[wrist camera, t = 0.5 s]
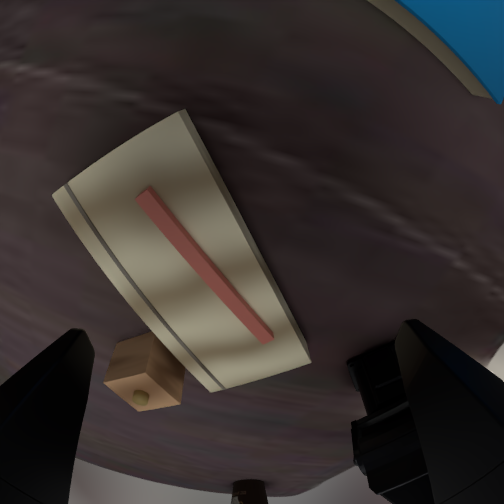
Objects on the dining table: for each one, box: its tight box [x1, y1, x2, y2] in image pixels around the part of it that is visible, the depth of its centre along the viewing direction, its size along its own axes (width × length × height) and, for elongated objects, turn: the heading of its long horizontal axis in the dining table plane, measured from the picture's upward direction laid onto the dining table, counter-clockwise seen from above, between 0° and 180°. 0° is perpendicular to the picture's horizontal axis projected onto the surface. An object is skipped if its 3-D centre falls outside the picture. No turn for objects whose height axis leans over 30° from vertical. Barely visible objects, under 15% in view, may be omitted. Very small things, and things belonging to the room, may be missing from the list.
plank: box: [52, 109, 311, 392], centre depth 22 cm, size 22×10×2 cm, turn 24°
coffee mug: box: [231, 480, 268, 504], centre depth 47 cm, size 12×9×10 cm
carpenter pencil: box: [135, 186, 274, 345], centre depth 20 cm, size 14×1×1 cm, turn 32°
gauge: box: [103, 331, 185, 411], centre depth 25 cm, size 5×5×6 cm
